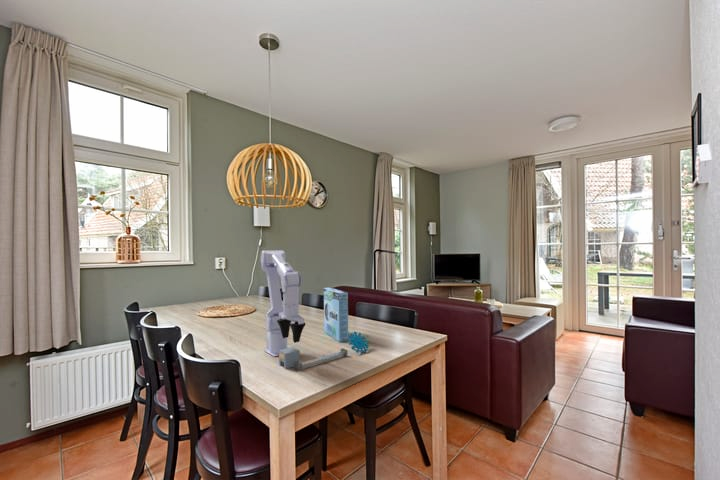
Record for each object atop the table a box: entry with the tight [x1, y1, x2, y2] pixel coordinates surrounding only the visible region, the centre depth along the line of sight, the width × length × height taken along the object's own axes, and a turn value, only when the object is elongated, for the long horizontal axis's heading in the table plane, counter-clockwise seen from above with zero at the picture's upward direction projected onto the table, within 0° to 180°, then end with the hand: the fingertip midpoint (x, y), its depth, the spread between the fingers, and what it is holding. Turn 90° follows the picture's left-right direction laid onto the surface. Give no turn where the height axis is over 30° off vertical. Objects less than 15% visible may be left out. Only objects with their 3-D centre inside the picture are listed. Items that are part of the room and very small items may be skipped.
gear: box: [348, 331, 371, 354], centre depth 136 cm, size 11×6×10 cm
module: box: [278, 346, 301, 370], centre depth 120 cm, size 5×6×6 cm
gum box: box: [323, 287, 349, 343], centre depth 157 cm, size 20×5×23 cm, turn 28°
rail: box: [294, 348, 348, 371], centre depth 123 cm, size 3×22×2 cm, turn 131°
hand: (290, 339), depth 120 cm, fingers open, 7 cm apart
